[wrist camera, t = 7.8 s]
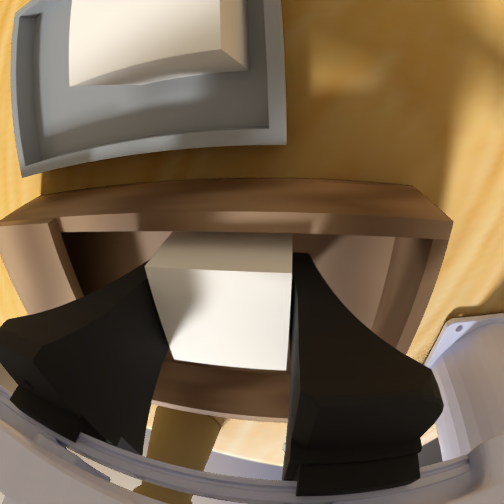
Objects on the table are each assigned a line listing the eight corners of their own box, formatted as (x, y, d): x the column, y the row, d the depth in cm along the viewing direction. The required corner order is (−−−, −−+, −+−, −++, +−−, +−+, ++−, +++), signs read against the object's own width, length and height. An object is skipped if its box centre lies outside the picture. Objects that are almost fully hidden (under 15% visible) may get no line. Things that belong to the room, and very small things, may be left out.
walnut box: (412, 185, 9) (461, 228, 6) (361, 374, 15) (368, 428, 12) (40, 195, 12) (-10, 227, 9) (100, 347, 18) (76, 387, 14)
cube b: (292, 212, 10) (291, 273, 7) (289, 297, 12) (286, 370, 9) (189, 212, 11) (144, 266, 7) (202, 293, 13) (174, 359, 9)
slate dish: (274, -64, 5) (271, -85, 3) (287, 138, 9) (286, 144, 8) (37, 14, 7) (15, 13, 5) (44, 167, 11) (22, 177, 10)
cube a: (140, -4, 6) (76, -32, 3) (245, -25, 6) (219, -81, 2) (141, 85, 8) (69, 86, 5) (249, 70, 8) (220, 49, 4)
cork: (161, 395, 20) (119, 512, 10) (230, 421, 20) (204, 538, 11) (152, 417, 23) (118, 510, 13) (209, 439, 23) (185, 532, 14)
